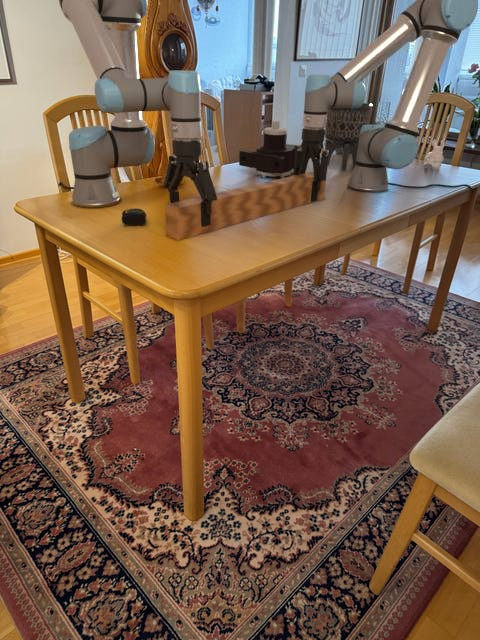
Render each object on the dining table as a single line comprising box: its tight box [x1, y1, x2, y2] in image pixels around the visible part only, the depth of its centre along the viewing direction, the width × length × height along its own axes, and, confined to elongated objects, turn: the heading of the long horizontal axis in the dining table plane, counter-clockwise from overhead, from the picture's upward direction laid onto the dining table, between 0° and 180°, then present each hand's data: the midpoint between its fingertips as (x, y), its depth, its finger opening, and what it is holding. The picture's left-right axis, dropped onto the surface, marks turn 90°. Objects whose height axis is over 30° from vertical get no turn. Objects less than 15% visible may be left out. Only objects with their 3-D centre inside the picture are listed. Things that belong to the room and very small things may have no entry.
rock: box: [334, 147, 352, 155], centre depth 239 cm, size 13×9×6 cm, turn 131°
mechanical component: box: [238, 120, 303, 179], centre depth 191 cm, size 22×21×30 cm
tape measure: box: [121, 207, 147, 226], centre depth 133 cm, size 7×7×4 cm
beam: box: [164, 171, 327, 241], centre depth 142 cm, size 65×5×9 cm, turn 134°
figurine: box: [422, 138, 446, 171], centre depth 207 cm, size 8×15×13 cm, turn 146°
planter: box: [324, 102, 374, 172], centre depth 204 cm, size 20×20×26 cm
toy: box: [154, 171, 188, 187], centre depth 173 cm, size 11×6×15 cm
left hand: (190, 220), depth 127 cm, fingers open, 13 cm apart
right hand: (307, 198), depth 160 cm, fingers closed on beam, 5 cm apart
